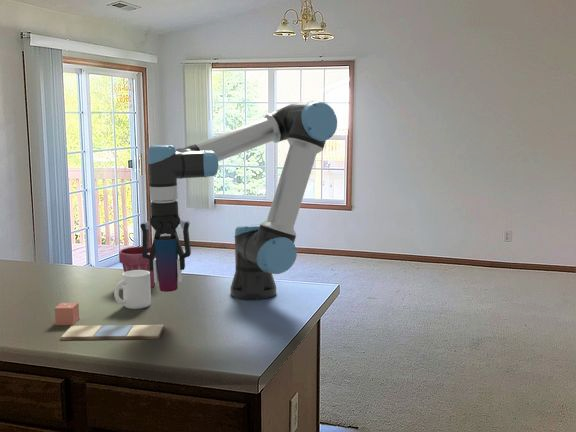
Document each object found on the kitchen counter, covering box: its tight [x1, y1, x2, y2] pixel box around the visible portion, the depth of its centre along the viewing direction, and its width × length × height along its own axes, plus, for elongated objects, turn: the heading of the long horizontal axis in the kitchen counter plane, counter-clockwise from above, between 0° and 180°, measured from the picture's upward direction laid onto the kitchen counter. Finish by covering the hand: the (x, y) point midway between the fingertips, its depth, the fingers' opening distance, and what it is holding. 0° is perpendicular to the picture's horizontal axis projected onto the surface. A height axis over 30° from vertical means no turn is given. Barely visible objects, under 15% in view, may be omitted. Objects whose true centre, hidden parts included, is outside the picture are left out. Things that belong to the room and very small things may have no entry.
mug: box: [114, 270, 152, 310], centre depth 188 cm, size 12×8×10 cm
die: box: [54, 302, 80, 326], centre depth 174 cm, size 5×5×5 cm
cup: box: [153, 235, 179, 293], centre depth 174 cm, size 7×7×15 cm
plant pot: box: [118, 245, 156, 288], centre depth 212 cm, size 14×14×13 cm
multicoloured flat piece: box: [59, 324, 165, 341], centre depth 165 cm, size 26×9×1 cm, turn 92°
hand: (168, 281), depth 175 cm, fingers closed on cup, 6 cm apart
